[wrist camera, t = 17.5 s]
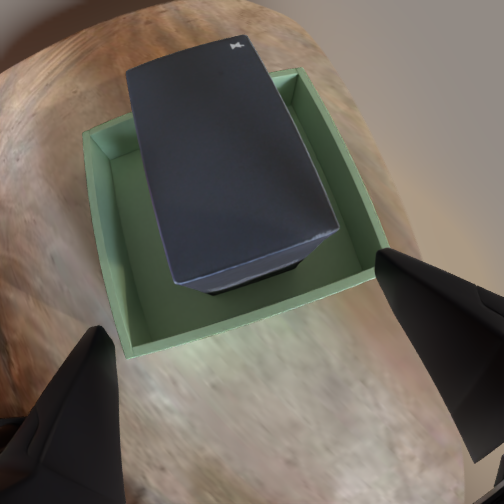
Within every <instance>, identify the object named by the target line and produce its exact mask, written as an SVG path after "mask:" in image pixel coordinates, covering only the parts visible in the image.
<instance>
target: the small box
mask: <svg viewBox="0 0 504 504" xmlns="http://www.w3.org/2000/svg"><path fill="white" fill-rule="evenodd" d="M126 79H127V85H128V91H129V97H130V102H131V108H132V113H133V118H134V124H135V129H136V134H137V139H138V143H139V148H140V153H141V157H142V162H143V167H144V171H145V175H146V180H147V184H148V188H149V193H150V197H151V201H152V205H153V209H154V213H155V217H156V221H157V225H158V228H159V232H160V236H161V240H162V244H163V247H164V251H165V255H166V258H167V262H168V265H169V268H170V272H171V275H172V278H173V281H174V283H175V284H177V285H181V286H185V287H188V288H191V289H194V290H197V291H200V292H203V293H206V294H209V295H211V296H215V295H219V294H221V293H225V292H228V291H231V290H235V289H237V288H240V287H243V286H246V285H249V284H252V283H255V282H258V281H261V280H264V279H267V278H270V277H273V276H276V275H279V274H282V273H285V272H287V271H290V270H293V269H295V268H296V267H297V266H298V265H299V263H301V262H302V261H303V260H304V258H306V257H307V256H308V255H309V254H310V253H311V252H313V251H314V250H315V249H316V248H317V247H318V245H320V244H321V243H322V242H323V241H324V240H325V239H327V238H328V237H329V236H331V235H332V234H334V233H335V232H337V231H338V230H339V228H340V226H339V223H338V221H337V219H336V216H335V213H334V211H333V208H332V206H331V203H330V201H329V199H328V196H327V194H326V191H325V189H324V187H323V185H322V182H321V180H320V177H319V175H318V173H317V170H316V168H315V166H314V164H313V162H312V160H311V157H310V155H309V153H308V151H307V148H306V146H305V144H304V142H303V140H302V138H301V136H300V134H299V131H298V129H297V127H296V125H295V123H294V121H293V119H292V117H291V115H290V113H289V111H288V109H287V107H286V105H285V103H284V101H283V99H282V97H281V95H280V93H279V92H278V90H277V88H276V86H275V84H274V82H273V80H272V78H271V76H270V75H269V73H268V71H267V69H266V67H265V65H264V63H263V62H262V60H261V58H260V56H259V55H258V53H257V51H256V50H255V48H254V46H253V44H252V43H251V41H250V39H249V37H248V36H247V35H239V36H234V37H231V38H226V39H222V40H218V41H214V42H210V43H206V44H202V45H199V46H196V47H192V48H189V49H185V50H182V51H178V52H176V53H173V54H170V55H166V56H163V57H160V58H157V59H155V60H152V61H149V62H147V63H144V64H141V65H139V66H137V67H134V68H131V69H129V70H127V71H126Z"/></svg>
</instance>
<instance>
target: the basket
mask: <svg viewBox="0 0 504 504" xmlns="http://www.w3.org/2000/svg"><path fill="white" fill-rule="evenodd" d="M269 75H270V76H271V78H272V80H273V82H274V84H275V86H276V88H277V90H278V92H279V93H280V95H281V97H282V99H283V101H284V103H285V105H286V107H287V109H288V111H289V113H290V115H291V117H292V119H293V121H294V123H295V125H296V127H297V129H298V131H299V134H300V136H301V138H302V140H303V142H304V144H305V146H306V148H307V151H308V153H309V155H310V157H311V160H312V162H313V164H314V166H315V168H316V170H317V173H318V175H319V177H320V180H321V182H322V185H323V187H324V189H325V191H326V194H327V196H328V199H329V201H330V203H331V206H332V208H333V211H334V213H335V216H336V219H337V221H338V223H339V226H340V228H339V230H338V231H337V232H335V233H334V234H332V235H331V236H329V237H328V238H327V239H325V240H324V241H323V242H322V243H321V244H320V245H318V247H317V248H316V249H315V250H314V251H313V252H311V253H310V254H309V255H308V256H307V257H306V258H304V260H303V261H302V262H301V263H299V265H298V266H297V267H296V268H295V269H293V270H290V271H287V272H285V273H282V274H279V275H276V276H273V277H270V278H267V279H264V280H261V281H258V282H255V283H252V284H249V285H246V286H243V287H240V288H237V289H235V290H231V291H228V292H225V293H221V294H219V295H215V296H211V295H209V294H206V293H203V292H200V291H197V290H194V289H191V288H188V287H185V286H181V285H177V284H175V283H174V281H173V278H172V275H171V272H170V268H169V265H168V262H167V258H166V255H165V251H164V247H163V244H162V240H161V236H160V232H159V228H158V225H157V221H156V217H155V213H154V209H153V205H152V201H151V197H150V193H149V188H148V184H147V180H146V175H145V171H144V167H143V162H142V157H141V153H140V148H139V143H138V139H137V134H136V129H135V124H134V118H133V113H132V112H130V113H128V114H125V115H122V116H120V117H117V118H115V119H113V120H110V121H108V122H105V123H103V124H101V125H98V126H96V127H94V128H92V129H90V130H87V131H85V132H83V133H82V137H83V151H84V162H85V172H86V181H87V189H88V197H89V204H90V211H91V217H92V223H93V229H94V235H95V240H96V246H97V251H98V256H99V261H100V265H101V270H102V274H103V279H104V283H105V287H106V291H107V295H108V299H109V303H110V307H111V311H112V314H113V318H114V322H115V325H116V329H117V332H118V335H119V339H120V342H121V345H122V348H123V351H124V355H125V358H126V359H131V358H135V357H139V356H143V355H146V354H150V353H154V352H157V351H161V350H165V349H168V348H172V347H175V346H179V345H182V344H186V343H189V342H193V341H196V340H199V339H203V338H206V337H209V336H213V335H216V334H219V333H222V332H225V331H229V330H232V329H235V328H238V327H241V326H244V325H247V324H250V323H253V322H256V321H259V320H262V319H265V318H268V317H271V316H274V315H277V314H280V313H283V312H286V311H289V310H291V309H294V308H297V307H300V306H303V305H305V304H308V303H311V302H314V301H316V300H319V299H322V298H324V297H327V296H330V295H332V294H335V293H338V292H340V291H343V290H345V289H348V288H351V287H353V286H356V285H358V284H361V283H363V282H366V281H368V280H371V279H373V278H376V276H375V272H374V269H375V256H376V252H377V251H378V250H380V249H383V248H387V247H388V248H390V246H389V244H388V241H387V238H386V236H385V233H384V231H383V228H382V226H381V223H380V221H379V218H378V216H377V213H376V211H375V208H374V206H373V204H372V201H371V199H370V197H369V194H368V192H367V190H366V187H365V185H364V183H363V181H362V179H361V176H360V174H359V172H358V170H357V168H356V166H355V163H354V161H353V159H352V157H351V155H350V153H349V151H348V149H347V147H346V145H345V143H344V141H343V139H342V137H341V135H340V133H339V131H338V129H337V127H336V125H335V123H334V122H333V120H332V118H331V116H330V114H329V112H328V110H327V109H326V107H325V105H324V103H323V101H322V100H321V98H320V96H319V94H318V93H317V91H316V89H315V87H314V86H313V84H312V82H311V81H310V79H309V77H308V76H307V74H306V72H305V71H304V69H303V67H300V68H293V69H287V70H282V71H276V72H271V73H269Z"/></svg>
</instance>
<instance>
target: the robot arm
mask: <svg viewBox="0 0 504 504" xmlns="http://www.w3.org/2000/svg"><path fill="white" fill-rule="evenodd" d="M374 272H375V276H376V278H377V280H378V282H379V284H380V286H381V288H382V290H383V293H384V295H385V297H386V299H387V301H388V303H389V305H390V307H391V309H392V311H393V313H394V315H395V316H396V318H397V320H398V321H399V323H400V325H401V326H402V328H403V330H404V331H405V333H406V335H407V336H408V338H409V340H410V341H411V343H412V345H413V346H414V348H415V350H416V352H417V353H418V355H419V357H420V358H421V360H422V362H423V364H424V365H425V367H426V369H427V371H428V373H429V374H430V376H431V378H432V380H433V382H434V384H435V385H436V387H437V389H438V391H439V393H440V395H441V397H442V398H443V400H444V402H445V404H446V406H447V408H448V410H449V412H450V413H451V416H452V418H453V420H454V422H455V424H456V426H457V428H458V430H459V432H460V435H461V437H462V439H463V441H464V443H465V445H466V447H467V449H468V451H469V454H470V456H471V458H472V460H473V462H474V463H476V462H478V461H480V460H481V459H482V458H484V457H485V456H487V455H488V454H489V453H491V452H492V451H493V450H495V449H496V448H497V447H499V446H500V445H501V444H502V443H504V297H502V296H500V295H497V294H495V293H493V292H491V291H488V290H486V289H484V288H482V287H479V286H476V285H475V284H473V283H471V282H468V281H466V280H464V279H461V278H460V277H457V276H455V275H453V274H451V273H448V272H446V271H444V270H441V269H439V268H437V267H434V266H432V265H429V264H427V263H425V262H423V261H420V260H418V259H416V258H413V257H411V256H408V255H406V254H403V253H401V252H399V251H396V250H394V249H391V248H388V247H387V248H383V249H380V250H378V251H377V252H376V256H375V269H374ZM125 503H126V499H125V491H124V482H123V472H122V461H121V447H120V428H119V389H118V378H117V367H116V356H115V346H114V343H113V341H112V339H111V338H110V337H109V335H108V334H107V332H106V331H105V329H104V328H103V327H102V326H100V325H97V326H93V327H90V328H89V329H88V330H87V331H86V333H85V334H84V335H83V337H82V338H81V339H80V341H79V342H78V343H77V345H76V346H75V347H74V349H73V350H72V351H71V353H70V354H69V356H68V357H67V358H66V360H65V361H64V363H63V364H62V365H61V367H60V368H59V370H58V371H57V373H56V374H55V375H54V377H53V378H52V380H51V381H50V383H49V384H48V386H47V387H46V389H45V390H44V392H43V393H42V395H41V396H40V398H39V399H38V401H37V402H36V404H35V406H34V407H33V408H32V410H31V411H30V413H29V414H28V416H24V417H11V418H0V504H125ZM473 504H504V454H503V455H502V457H501V461H500V465H499V469H498V473H497V477H496V480H495V484H494V488H493V489H492V490H491V491H489V492H488V493H487V494H485V495H484V496H482V497H481V498H480V499H478V500H477V501H476V502H474V503H473Z"/></svg>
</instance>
